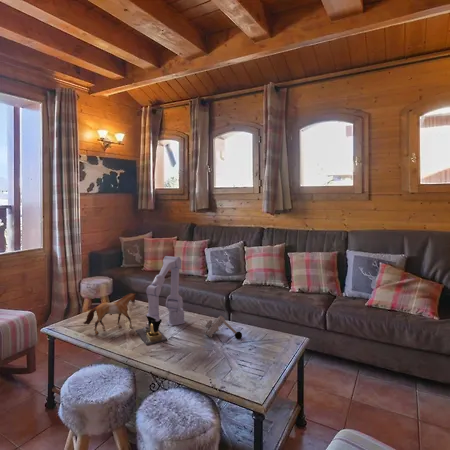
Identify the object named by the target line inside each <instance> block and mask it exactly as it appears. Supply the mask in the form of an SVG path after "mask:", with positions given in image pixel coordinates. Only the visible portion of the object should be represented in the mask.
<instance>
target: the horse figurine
mask: <svg viewBox="0 0 450 450" xmlns="http://www.w3.org/2000/svg"><path fill="white" fill-rule="evenodd" d="M136 296H137V293H136V292H130V293H127V294H125V295H124V296H122V297H121V298H120V299H118V300H117V301H116V302H108V301H107V302H106V301H105V302H103V303H100V304H98V305H97V306H95V307H93V308H92V309H91V310H89V312H88V314H87V315H86V320H85V321H83V323H82V324H84V325H90V324H91V322H92V321H93V319H94V317H95V313H96V316H97V319H96V321H95V323H94V329H93V330H94V334H99V331H98V329H97V326H98V325H99V323H100V325H101V326H102V330H105V328H106V326H105V324H104V323H103V318H104V317H105V316H106V315H118V316H117V326H118V328H122V325H121V324H120V320H121V316H122V315H123V316H124V317H125V318H127V319H128V321H129V327H130V328H133V327H132V325H133V323H132V320H131V317H130V315H129V313H128V311H129V308H128V305H129V303H130V301H131V303H132V304H133V305H135V304H136V298H137V297H136Z"/></svg>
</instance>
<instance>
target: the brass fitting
mask: <svg viewBox="0 0 450 450" xmlns="http://www.w3.org/2000/svg"><path fill="white" fill-rule="evenodd" d="M156 335H158V332H154V330H153V324H152V323H151V324H150V336H151V337H152V336H156Z"/></svg>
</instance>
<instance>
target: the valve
mask: <svg viewBox="0 0 450 450" xmlns="http://www.w3.org/2000/svg"><path fill="white" fill-rule="evenodd" d="M223 324H224V325H225V326H226V327H227V328H228V329H229V330H230V331H232V333H233V334H234V338H236V339H237V340H241V339H242V338H243V333H242V332H241V331H236V330H235V329H234V328H233V327H232V326H231V325H230V324H229V323H228V322H227V321H226V319H225V317H224V316H223V315H219V316H218V317H217V318H214V320H212V319H209V320H208V321H207V323H206V324H205V325H204V328H206V330H205V331H204V334H206V336H208V337H209V338H212V337H213V334H215V333H216V332H218V331H219V330H220V327H221V326H222V325H223Z"/></svg>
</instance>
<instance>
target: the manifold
mask: <svg viewBox="0 0 450 450" xmlns="http://www.w3.org/2000/svg"><path fill="white" fill-rule="evenodd" d="M135 332H136V334H137V335H138V336H139V337H140V339H141V340H142V342H143V343H144V344H145V345H146V346H149V345H153V344H154V345H155V344H159V343H162V342H167V341H168V338H167V337H166V336H165V335H164V334H163V332H162V331H161V330H160V328H159V329H158V335H156V336H152V337H151V336H150V326H149V322H148V321H147V322H146V324H145V326H144V327H142V328H138V329H135Z"/></svg>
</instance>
